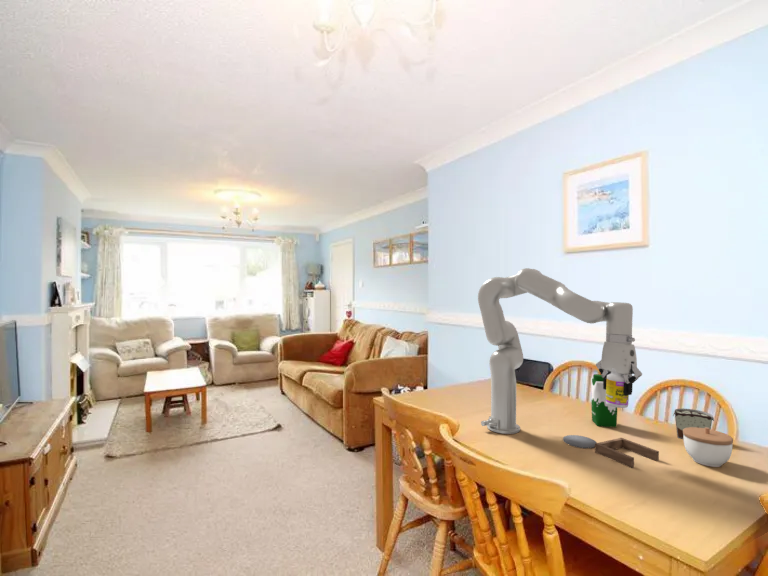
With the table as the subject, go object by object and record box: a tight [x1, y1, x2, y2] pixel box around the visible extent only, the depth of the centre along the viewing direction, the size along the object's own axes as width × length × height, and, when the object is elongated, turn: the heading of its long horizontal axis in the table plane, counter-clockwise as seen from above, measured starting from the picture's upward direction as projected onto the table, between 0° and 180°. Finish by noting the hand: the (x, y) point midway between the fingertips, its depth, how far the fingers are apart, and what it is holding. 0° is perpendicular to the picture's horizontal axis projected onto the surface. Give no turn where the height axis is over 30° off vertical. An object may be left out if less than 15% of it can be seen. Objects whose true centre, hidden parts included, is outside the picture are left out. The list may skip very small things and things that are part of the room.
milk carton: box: [590, 373, 618, 428], centre depth 165 cm, size 9×9×20 cm
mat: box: [562, 434, 598, 450], centre depth 145 cm, size 11×11×1 cm
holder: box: [594, 437, 660, 469], centre depth 133 cm, size 13×13×3 cm
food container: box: [672, 408, 715, 440], centre depth 151 cm, size 12×6×10 cm, turn 65°
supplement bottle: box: [606, 368, 630, 409], centre depth 135 cm, size 7×7×13 cm
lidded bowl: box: [682, 427, 734, 468], centre depth 129 cm, size 13×13×11 cm
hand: (617, 391), depth 135 cm, fingers closed on supplement bottle, 6 cm apart
